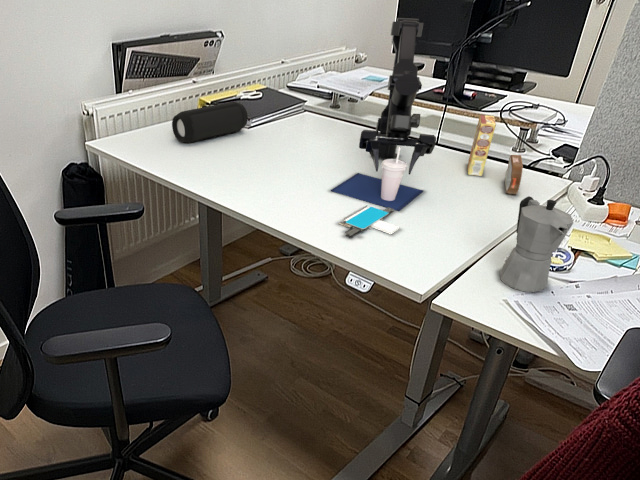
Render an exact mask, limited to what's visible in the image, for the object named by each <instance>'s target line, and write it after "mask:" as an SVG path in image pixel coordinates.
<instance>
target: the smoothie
mask: <svg viewBox="0 0 640 480" xmlns="http://www.w3.org/2000/svg"><path fill="white" fill-rule="evenodd" d="M401 148H402V146H398V149H397V152H396V153H397V157H396V158H395V159H386V160H385V159H382V162H381V164H380V165H381V169H382V170H381V179H382V186H381V198H382V199H383V200H387V201H393V200H395V197H396V194H397V191H398V188H399V185H401V183H402V179H403V178H404V177H403V176H404V173H405V171H406V170H407V167H408V163H407V162H406V161H404V160H401V159H400V154H401V150H402V149H401Z"/></svg>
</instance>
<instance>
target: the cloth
mask: <svg viewBox="0 0 640 480" xmlns="http://www.w3.org/2000/svg"><path fill="white" fill-rule="evenodd" d="M381 186H382V178H378V177H374V176H370V175H367V174H363V173H361V172H360V173H359V172H357V173H355V174H354V175H352V176H350V177H349V178H348V179H346V180H344V181H343V182H341V183H340V184H338V185H337V186H335V187H333V188H332V189H330V192H333V193H336V194H340V195H343V196H346V197H350V198H353V199H356V200H357V199H358V200H359V201H363V202H367V203H369V204H374V205H377V206H379V207H383V208H388V207H390V209H391V208H392V209H393V210H392V211H397V212H400V211H401V210H403V208H405V207H406V206H408V205H409V204H410V203H411V202H413V200H415V199H416V198H417V197H418V196H420V195H421V194H422V193H423V192H424V190H423V189H418V188H415V187H411V186H407V185H403V184H400V185H399V188H398V191H397V194H396V197H395V200H393V201H387V200H383V199H382V198H381Z"/></svg>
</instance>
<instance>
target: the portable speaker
mask: <svg viewBox="0 0 640 480" xmlns="http://www.w3.org/2000/svg"><path fill="white" fill-rule="evenodd" d="M248 119H249V116H248V112H247V109H246V107H245V105H243V104H242V103H240V102H237V101H229V102H224V103H223V102H222V103H218V104H213V105H209V106H203V107H198V108H192V109H188V110H183V111H180V112H178V113H177V114H175V115H174V116H173V118H172V121H171V128H172V132H173V135H174V137H175V138H176V140H177V141H179V142H181V143H186V144H191V143H195V142H201V141H204V140H208V139H213V138H217V137H221V136H226V135H227V136H228V135H231V134H234V133H238V132H240V131H242V130H243V129H244V128H245V127H247V124H248Z"/></svg>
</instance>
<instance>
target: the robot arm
mask: <svg viewBox="0 0 640 480" xmlns="http://www.w3.org/2000/svg"><path fill="white" fill-rule="evenodd" d="M423 28H424V22H420V19H419V18H407V17H406V18H405V17H397V19H396V21H392V23H391V28H390V36H392V39H391V44H392V47H393V49H394V52H395V54H394V60H393V61H394V62H393V68H392V73H391V74H390V75H389V77H388V82H387V90H388V91H389V92H388V93H389V94H388V100H387V105H385V107H384V109H383V110H382V111H381V113H380V117H378V118H377V123H376V126H375V129H374V130H373V129H363V130H361V132H360V137H359V142H358V143H359V144H358V148H359V149H361V150H365V152H366V153H368V154H369V155H370V157H371V159H372V160H371V161H372V163H373V166H374V170H375V172H376V173H378V172H379V166H380V159H381V160H386V159H396V158H397V153H398V152H396V151H397V147H411V148H413V151H412V154H411V158H410V162H409V167H408V172H407V173H408V175H409V176H410V175H411V173H412V172H413V169H414V167H415V165H416V163H417V161H418V159H419V158H420V157H424V156H425V155H431V154H432V153H433V151H434V149H435V146H436V144H437V137H436V136H435V135H434V134H428V133H427V134H426V133H420V134H419V136H418V138H409V137H410V136H411V133H412V129H413V128H414V129H419V127H420V123H421V113H412V108H413V104H414V102H415V100H416V98H417V97H416V96H417V94H418V93H419V91H421V90H422V87H423V86H422V85H423V84H422V82H421V79H420V77H419V76H418V69H419V68H418V66H417V65H416V64H415V61H414V60H415V53H416V52H415V50H416V45H417V43H418V40H419V38H421V37H422V35H423Z"/></svg>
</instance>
